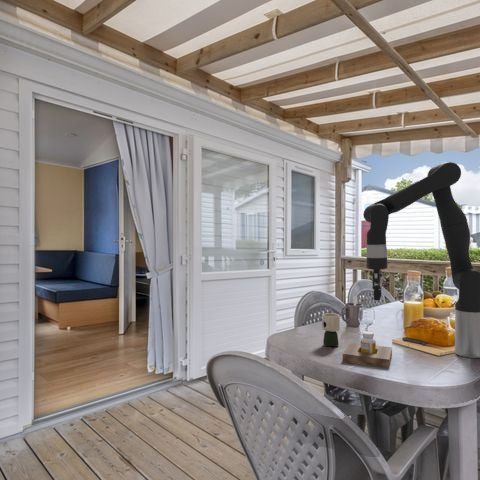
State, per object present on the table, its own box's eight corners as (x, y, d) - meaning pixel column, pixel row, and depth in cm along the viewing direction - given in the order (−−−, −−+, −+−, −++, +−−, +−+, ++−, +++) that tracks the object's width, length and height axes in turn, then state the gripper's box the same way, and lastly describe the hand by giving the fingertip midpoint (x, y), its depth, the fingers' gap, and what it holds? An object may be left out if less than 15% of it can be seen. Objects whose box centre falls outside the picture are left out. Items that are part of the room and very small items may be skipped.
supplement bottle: (372, 356, 146) (372, 330, 146) (377, 360, 141) (378, 334, 141) (358, 356, 146) (358, 331, 146) (363, 360, 141) (363, 334, 141)
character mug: (320, 341, 166) (320, 312, 166) (337, 342, 165) (337, 312, 165) (323, 349, 155) (323, 317, 155) (341, 349, 155) (341, 317, 154)
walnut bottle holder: (391, 355, 148) (391, 347, 148) (389, 368, 133) (389, 359, 133) (349, 350, 154) (349, 342, 154) (342, 361, 140) (342, 353, 140)
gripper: (386, 257, 139) (387, 302, 139) (387, 255, 152) (388, 296, 152) (364, 257, 142) (365, 301, 142) (368, 255, 155) (369, 295, 155)
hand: (377, 298), depth 147 cm, fingers open, 8 cm apart
